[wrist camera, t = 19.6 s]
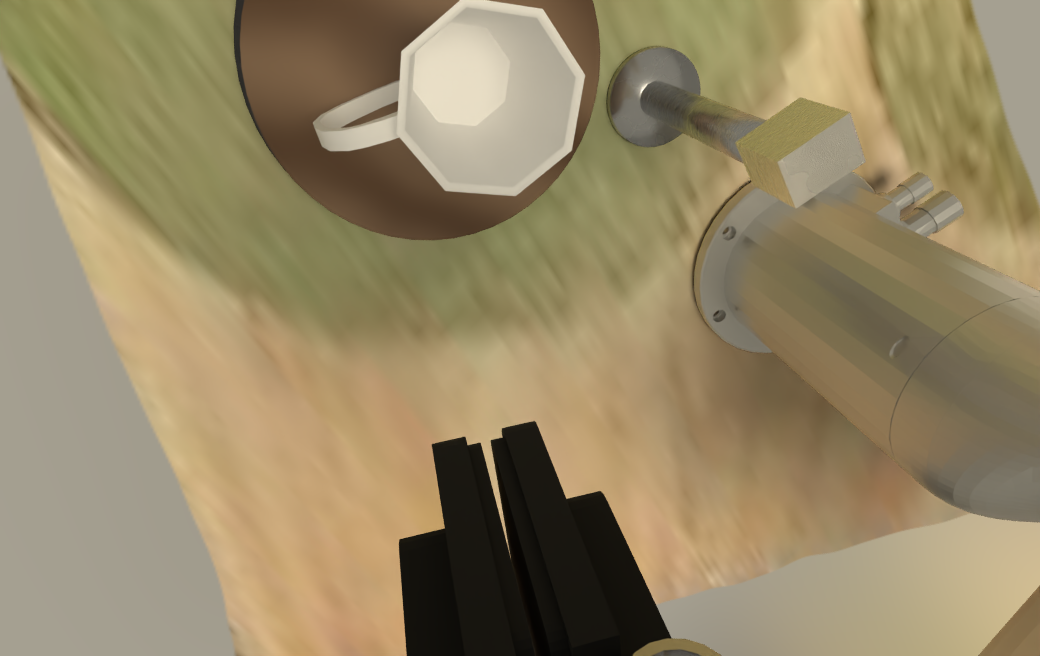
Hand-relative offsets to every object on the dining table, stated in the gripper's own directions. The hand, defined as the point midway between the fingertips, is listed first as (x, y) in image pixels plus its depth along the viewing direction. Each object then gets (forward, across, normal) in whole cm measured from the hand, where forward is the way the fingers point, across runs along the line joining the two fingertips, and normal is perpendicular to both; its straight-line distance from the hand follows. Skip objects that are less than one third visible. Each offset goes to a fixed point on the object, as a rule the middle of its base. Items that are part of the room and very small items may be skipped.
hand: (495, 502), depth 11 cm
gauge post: (+27, -13, 0) cm, 30 cm away
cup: (+24, -2, -3) cm, 25 cm away
